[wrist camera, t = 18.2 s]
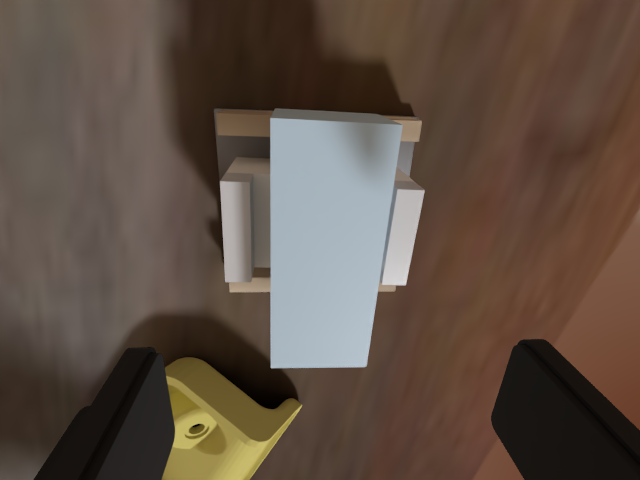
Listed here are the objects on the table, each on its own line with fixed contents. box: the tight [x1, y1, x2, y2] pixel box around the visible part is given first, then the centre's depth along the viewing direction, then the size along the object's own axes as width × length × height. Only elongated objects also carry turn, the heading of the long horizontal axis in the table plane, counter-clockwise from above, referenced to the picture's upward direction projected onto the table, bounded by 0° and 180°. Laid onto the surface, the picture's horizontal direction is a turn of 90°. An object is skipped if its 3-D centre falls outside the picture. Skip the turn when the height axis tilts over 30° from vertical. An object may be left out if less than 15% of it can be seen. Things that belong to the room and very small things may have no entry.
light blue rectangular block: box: [270, 108, 403, 368], centre depth 16 cm, size 4×11×4 cm, turn 176°
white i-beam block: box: [220, 157, 425, 285], centre depth 19 cm, size 5×9×5 cm, turn 86°
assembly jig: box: [214, 108, 422, 292], centre depth 20 cm, size 10×11×3 cm
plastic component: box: [162, 357, 302, 480], centre depth 28 cm, size 20×7×10 cm
